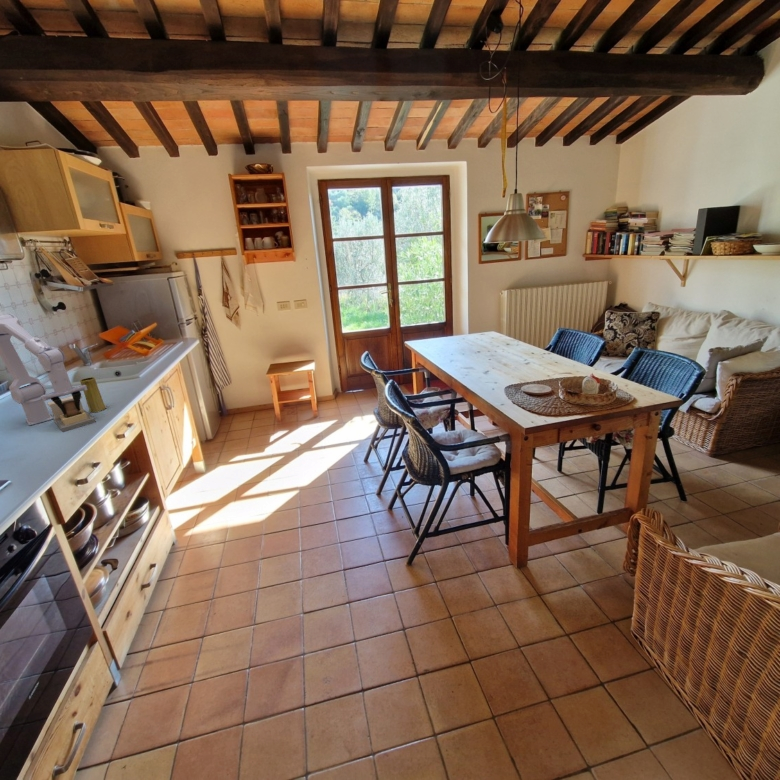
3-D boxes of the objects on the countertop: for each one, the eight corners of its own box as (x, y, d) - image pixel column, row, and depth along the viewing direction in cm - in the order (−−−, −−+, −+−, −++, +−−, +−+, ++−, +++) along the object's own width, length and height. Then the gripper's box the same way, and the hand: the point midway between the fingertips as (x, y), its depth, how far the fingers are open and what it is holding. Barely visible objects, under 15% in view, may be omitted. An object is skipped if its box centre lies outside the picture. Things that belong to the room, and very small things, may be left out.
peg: (66, 416, 165) (61, 402, 163) (78, 413, 168) (73, 399, 166) (68, 418, 162) (63, 404, 160) (80, 415, 165) (75, 401, 163)
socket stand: (54, 422, 169) (46, 402, 166) (86, 413, 176) (79, 394, 173) (62, 432, 158) (54, 411, 155) (95, 421, 166) (88, 401, 163)
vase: (103, 406, 183) (93, 375, 179) (108, 408, 180) (97, 378, 175) (87, 410, 179) (76, 380, 174) (92, 413, 175) (81, 382, 170)
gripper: (38, 387, 152) (51, 420, 157) (84, 376, 162) (95, 408, 167) (35, 384, 157) (48, 416, 161) (80, 373, 167) (91, 404, 171)
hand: (71, 412), depth 164 cm, fingers closed on peg, 4 cm apart
